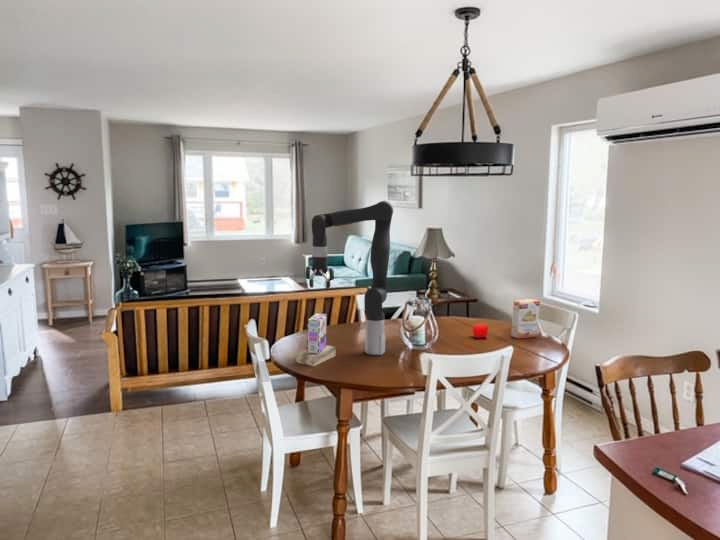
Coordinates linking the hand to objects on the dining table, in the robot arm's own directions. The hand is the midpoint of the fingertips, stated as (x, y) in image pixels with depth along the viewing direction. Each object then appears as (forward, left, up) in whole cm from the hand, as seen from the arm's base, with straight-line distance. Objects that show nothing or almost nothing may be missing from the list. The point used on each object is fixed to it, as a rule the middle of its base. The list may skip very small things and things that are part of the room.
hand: (319, 288), depth 255 cm
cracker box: (-94, -70, -32) cm, 122 cm away
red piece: (-71, -58, -32) cm, 98 cm away
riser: (-4, +13, -33) cm, 35 cm away
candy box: (-5, +13, -28) cm, 31 cm away
